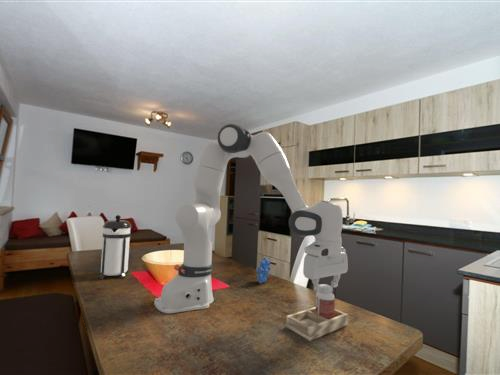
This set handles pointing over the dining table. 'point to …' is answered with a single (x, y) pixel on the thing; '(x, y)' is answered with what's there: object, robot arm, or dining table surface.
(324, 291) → the pill bottle
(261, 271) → the grapes
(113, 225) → the coffee press
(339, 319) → the tray
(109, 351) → the dining table surface
